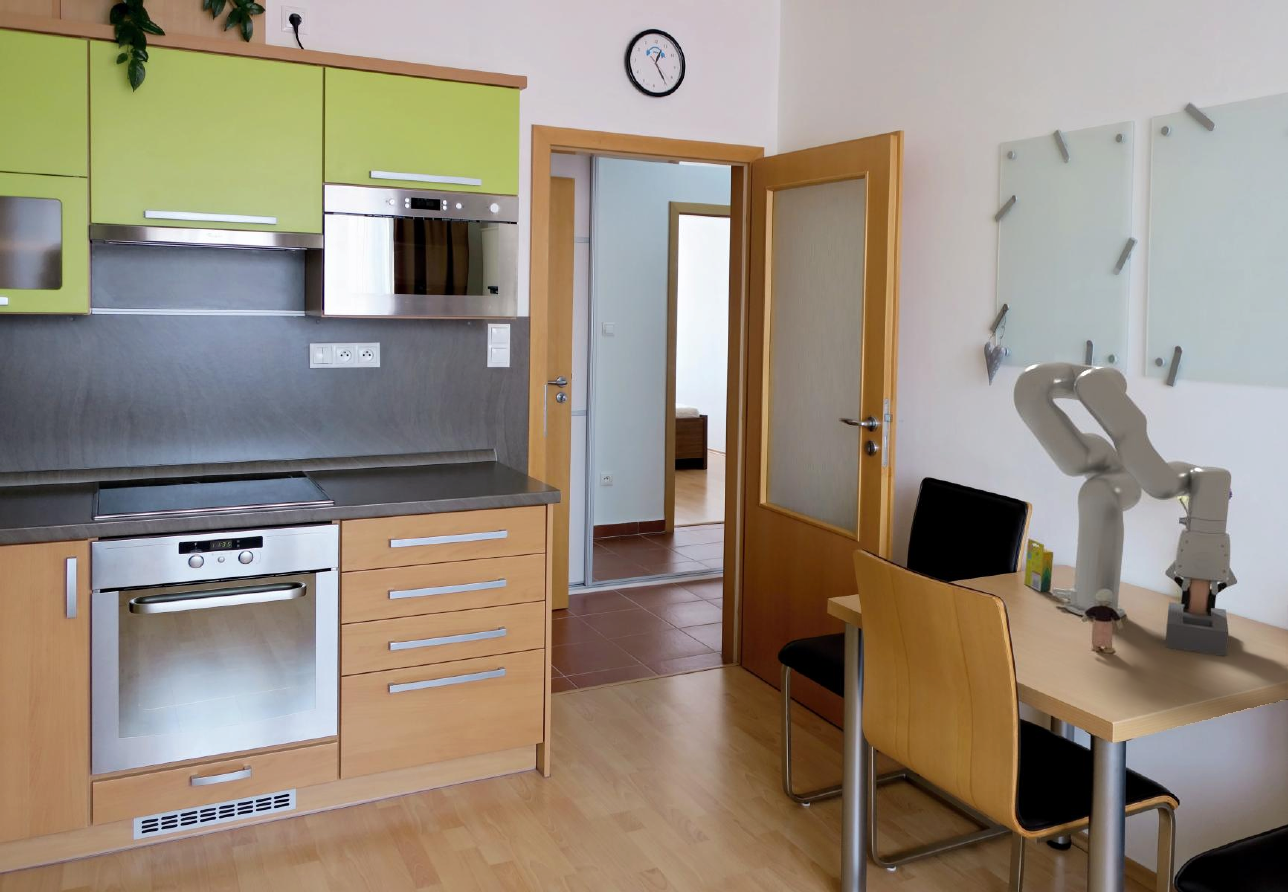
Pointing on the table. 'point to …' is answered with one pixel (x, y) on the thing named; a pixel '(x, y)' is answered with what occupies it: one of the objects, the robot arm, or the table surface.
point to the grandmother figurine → (1103, 621)
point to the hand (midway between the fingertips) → (1197, 608)
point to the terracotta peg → (1198, 596)
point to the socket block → (1197, 630)
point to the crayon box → (1038, 567)
